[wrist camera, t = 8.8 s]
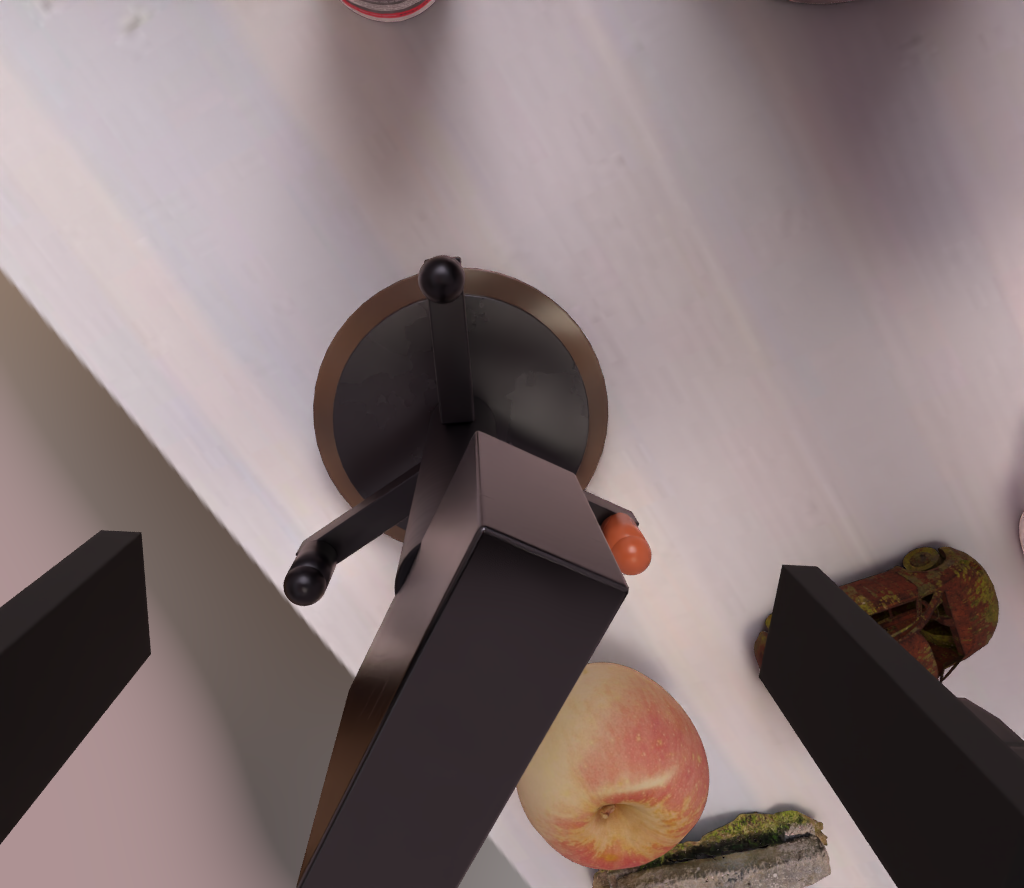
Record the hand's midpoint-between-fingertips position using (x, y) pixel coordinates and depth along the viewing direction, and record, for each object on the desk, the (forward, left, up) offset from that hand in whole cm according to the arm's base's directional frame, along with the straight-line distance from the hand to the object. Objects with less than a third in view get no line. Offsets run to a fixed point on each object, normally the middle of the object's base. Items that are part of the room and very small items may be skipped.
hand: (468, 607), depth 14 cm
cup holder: (+1, 0, -16) cm, 16 cm away
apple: (+17, +4, -18) cm, 25 cm away
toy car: (+15, +19, -18) cm, 30 cm away
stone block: (+26, +9, -19) cm, 33 cm away
